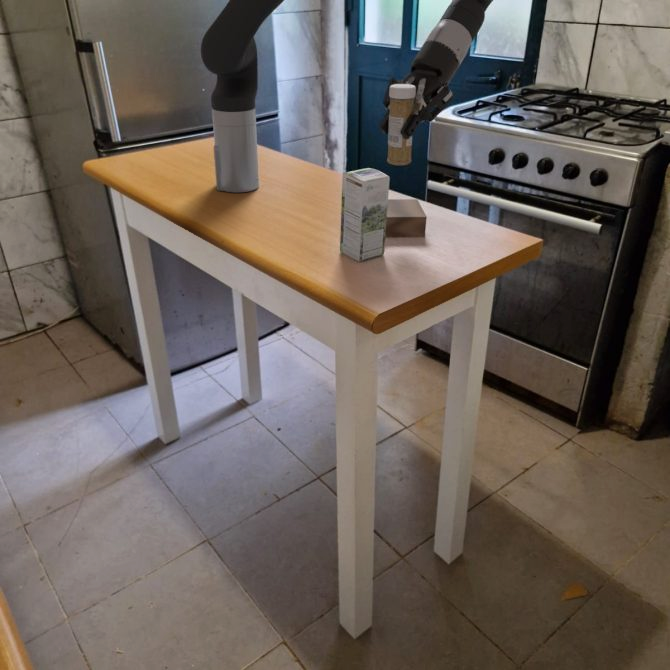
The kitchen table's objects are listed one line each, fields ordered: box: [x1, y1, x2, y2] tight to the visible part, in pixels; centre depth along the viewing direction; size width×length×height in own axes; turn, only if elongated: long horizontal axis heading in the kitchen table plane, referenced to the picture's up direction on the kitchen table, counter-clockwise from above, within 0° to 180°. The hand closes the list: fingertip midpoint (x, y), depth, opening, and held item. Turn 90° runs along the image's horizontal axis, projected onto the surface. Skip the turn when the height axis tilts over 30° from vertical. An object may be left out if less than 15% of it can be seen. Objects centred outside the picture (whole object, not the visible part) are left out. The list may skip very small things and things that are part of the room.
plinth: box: [385, 198, 428, 238], centre depth 121 cm, size 10×10×4 cm
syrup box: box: [339, 167, 391, 263], centre depth 107 cm, size 6×6×14 cm
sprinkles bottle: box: [386, 84, 416, 166], centre depth 112 cm, size 5×5×13 cm
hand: (393, 133), depth 112 cm, fingers closed on sprinkles bottle, 4 cm apart
